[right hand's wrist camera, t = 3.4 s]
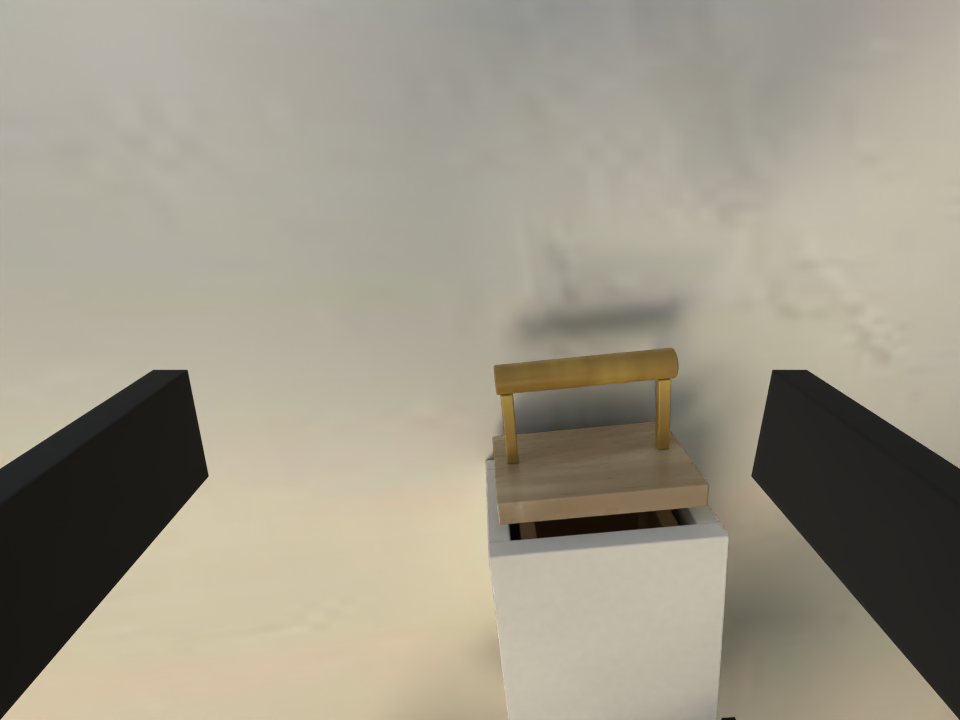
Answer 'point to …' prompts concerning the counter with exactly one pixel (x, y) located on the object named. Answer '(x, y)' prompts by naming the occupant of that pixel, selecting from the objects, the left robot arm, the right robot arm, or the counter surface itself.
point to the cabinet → (610, 619)
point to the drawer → (592, 454)
